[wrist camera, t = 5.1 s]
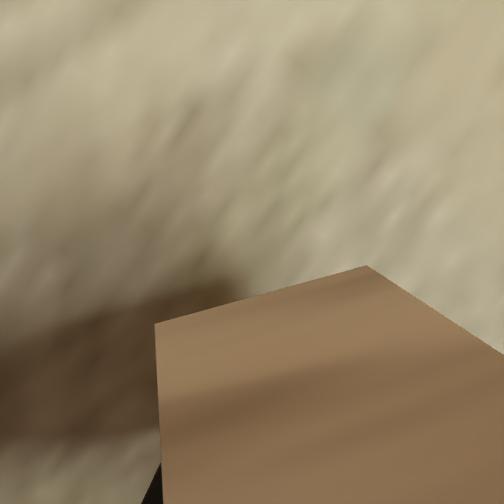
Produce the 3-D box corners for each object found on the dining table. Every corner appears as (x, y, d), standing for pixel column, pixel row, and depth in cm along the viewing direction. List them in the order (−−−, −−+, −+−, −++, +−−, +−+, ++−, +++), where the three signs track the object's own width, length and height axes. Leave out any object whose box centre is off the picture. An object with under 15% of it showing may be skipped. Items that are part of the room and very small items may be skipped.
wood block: (387, 437, 11) (641, 769, 5) (206, 499, 10) (280, 953, 5) (366, 265, 10) (679, 470, 4) (154, 323, 9) (171, 671, 3)
